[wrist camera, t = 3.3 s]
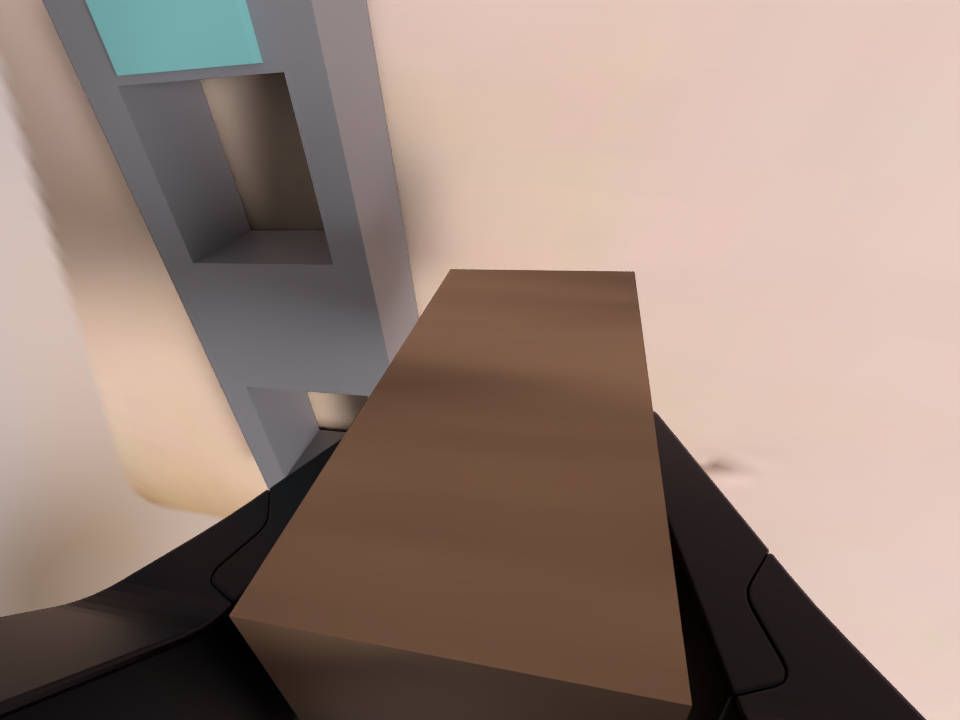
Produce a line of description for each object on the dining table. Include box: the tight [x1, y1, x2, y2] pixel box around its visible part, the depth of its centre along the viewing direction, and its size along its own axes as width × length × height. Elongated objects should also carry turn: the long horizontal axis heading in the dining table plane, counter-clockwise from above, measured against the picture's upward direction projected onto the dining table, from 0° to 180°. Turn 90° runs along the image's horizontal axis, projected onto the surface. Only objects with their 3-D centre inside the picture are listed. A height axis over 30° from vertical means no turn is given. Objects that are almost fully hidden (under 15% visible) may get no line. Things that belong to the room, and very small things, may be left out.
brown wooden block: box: [229, 269, 692, 720], centre depth 8 cm, size 4×4×8 cm
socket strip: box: [42, 0, 419, 491], centre depth 19 cm, size 22×8×4 cm, turn 4°
